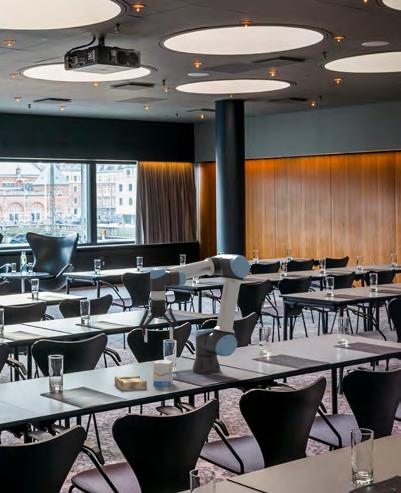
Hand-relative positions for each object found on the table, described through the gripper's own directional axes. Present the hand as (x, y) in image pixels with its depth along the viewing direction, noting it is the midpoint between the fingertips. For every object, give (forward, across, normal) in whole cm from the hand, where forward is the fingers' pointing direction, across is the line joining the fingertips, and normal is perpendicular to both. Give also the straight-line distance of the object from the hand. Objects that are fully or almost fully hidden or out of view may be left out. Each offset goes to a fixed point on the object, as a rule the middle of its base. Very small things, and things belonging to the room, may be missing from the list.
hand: (158, 341), depth 454 cm
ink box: (+22, -2, +2) cm, 22 cm away
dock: (+22, +15, +1) cm, 27 cm away
